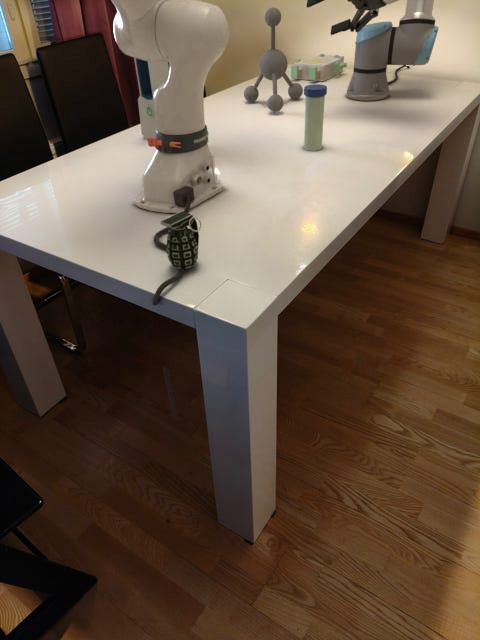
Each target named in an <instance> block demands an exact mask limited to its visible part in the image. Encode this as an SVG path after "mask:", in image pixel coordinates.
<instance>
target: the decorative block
mask: <svg viewBox="0 0 480 640" xmlns="http://www.w3.org/2000/svg"><path fill="white" fill-rule="evenodd" d="M345 68H348V63H347V62H345V56H344V55H339V54H334V55H332V54H331V55H330V54H325V53H320V54H318V55H316V56H310V57H307V58H304V59H296V60H295V62H294V63H293V64H292V65H291V66H290V79H295V80H306V81H315V82H325V81H327V80H329V79H331V78H333V77H336V76H338V75H340V74H341V72H343V71H344V69H345Z"/></svg>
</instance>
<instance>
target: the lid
mask: <svg viewBox="0 0 480 640" xmlns="http://www.w3.org/2000/svg"><path fill="white" fill-rule="evenodd" d="M327 93H328V86H327V85H325V84H319V83H316V84H314V83H313V84H307V85H305V86H304V88H303V95H304V96H305V97H306V96H308V97H322V96H326V95H327Z"/></svg>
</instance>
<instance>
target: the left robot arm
mask: <svg viewBox="0 0 480 640" xmlns="http://www.w3.org/2000/svg"><path fill="white" fill-rule="evenodd" d="M110 1H111V2H112V4H113V5H114V7H115V9H116V13H115V14H114V15H115V16H114V19H113V25H112V26H113V27H112V28H113V36H114V39H115V42H116V45H117V46H118V49H119V50H120V51H121V53H123V54H124V55H125V56H128V57H131V58H133V59H134V58H137V59H141V60H144V61H161V62H168V66H169V77H168V80H166V81H164V82H163V83H162V84H161V85H159V86H158V88H157V89H156V91H155V93H154V97H153V101H154V108H155V114H156V121H157V128H158V129H157V130H156V138H152V137H150V138H149V139H147V146H149V147H151V148H152V147H154V148H155V151H154V153H153V155H152V157H151V159H150V162H149V163H148V165H147V167H146V169H145V172H144V173H143V176H142V192H140V193H139V195H138V196H137V197H135V199H134V205H135V206H137V207H138V208H140V209H142V210H143V209H144V210H147V211H151V212H157V213H164V214H177V213H179V212H181V211H184V212H187V213H189V212H190V209H193V208H194V207H196V206H198V205H199V204H201V203H203V202H205V201H207V200H208V199H210V198H212V197H214V196H215V195H217V194H219V193H220V192H222V191H223V185H222V184H220V183H219V180H218V175H220V170H219V169H218V168H217V167H216V163H215V156H214V155H213V153H212V152H211V149H210V147H209V145H208V143H209V130H208V126H207V124H206V121H205V103H204V94H205V93H204V92H205V85H206V80H207V77H208V75H209V72H210V70H211V68H212V67H213V65H214V64H216V62H217V61H218V60H219V59H220V58H221V57H222V55H223V54H224V52H225V51H226V49H227V47H228V43H229V39H230V36H229V35H230V29H229V24H228V20H227V17H226V15H225V13H224V11H223V10H222V8H221V7H219V6H218V5H216V4H212V3H210V2H205V1H200V0H110ZM169 230H171V227H170V228H169V227H166V226H165V228H162V229H160V230H159V231H157V232H156V233H155V234H154V236H153V242H154V244H155V245H157V246H158V247H159V248H162V249H163V250H166V249H167V243H164V242H161V241H160V239H159V238H160V237H161V236H163V235H165V234H166V233H168V231H169ZM184 271H185V270H184V268H182V269H181V268H179V269H178V271H177V273H175V275H173V276H171V277H170V278H168V279H166V280H164V282H162V283H161V284H160V285H158V287H157V289H156V291H155V293H154V296H153V300H152V306H158V304H159V299H160V297H161V294H162V293H163V291H164V290H165V289H166V288H168V287H169V286H170V285H171V284H174V283H175V282H177V281H179V279H181V278H182V276H183V275H184ZM161 366H162V371H163V376H164V380H165V386H166V390H167V395H168V400H169V405H170V406H169V407H170V410H171V415H172V419H177V418H178V413H177V409H176V408H177V407H176V402H175V397H174V392H173V387H172V382H171V377H170V371H169V368H168V367H167V366H165V365H161Z"/></svg>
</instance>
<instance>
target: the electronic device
mask: <svg viewBox="0 0 480 640" xmlns="http://www.w3.org/2000/svg"><path fill="white" fill-rule="evenodd" d="M133 60H134V61H133V62H134V65H135V72H136V79H137V86H138V90H139V97H138V98H137V103H138V113H139V123H140V129H141V130H140V131H141V135H142V136H143V138H144V139H146V140H148V139H149V138H150V137H152V138H156V130H157V129H158V128H157V121H156V114H155V108H154V101H153V97H154V93H155V91H156V89H157V88H158V86H159V85H161V84H162V83H163V82H164V81H166V80H168V77H169V72H170V67H169V62H161V61H144V60H141V59H137V58H134V57H133Z"/></svg>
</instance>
